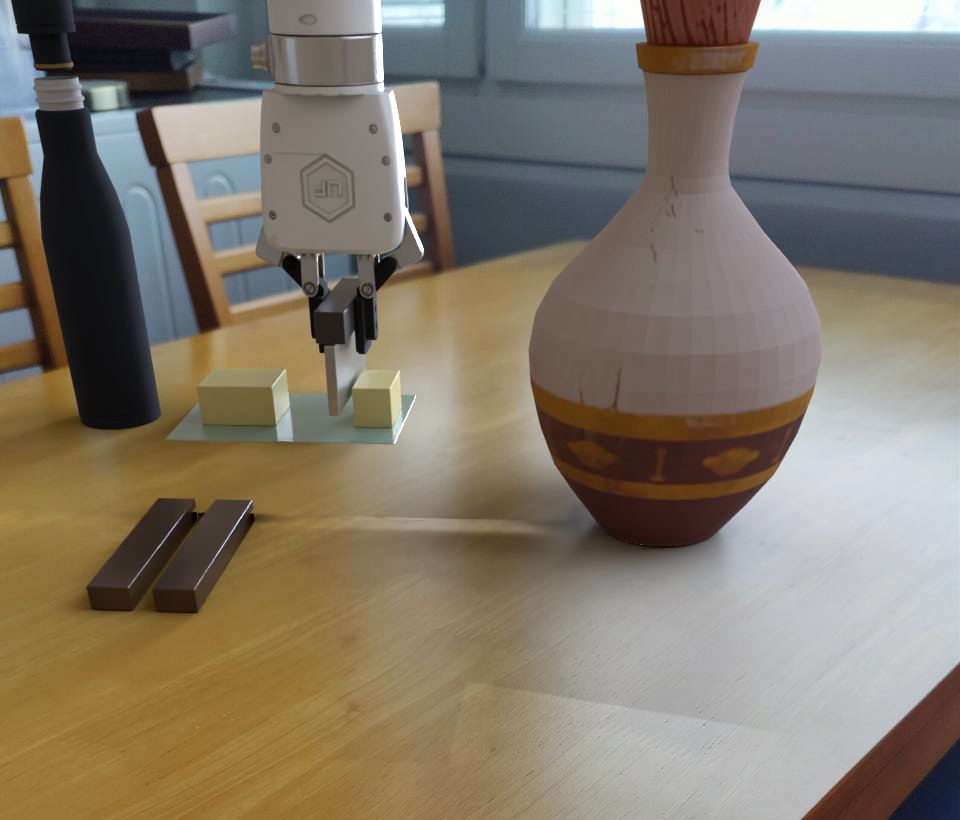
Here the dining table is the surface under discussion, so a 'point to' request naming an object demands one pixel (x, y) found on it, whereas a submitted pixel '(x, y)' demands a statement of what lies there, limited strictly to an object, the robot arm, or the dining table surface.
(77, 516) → the dining table surface
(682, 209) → the ceramic vase
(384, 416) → the butter pat
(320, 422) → the butter dish
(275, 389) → the butter
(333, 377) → the black and grey blade
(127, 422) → the black bottle
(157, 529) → the stand
